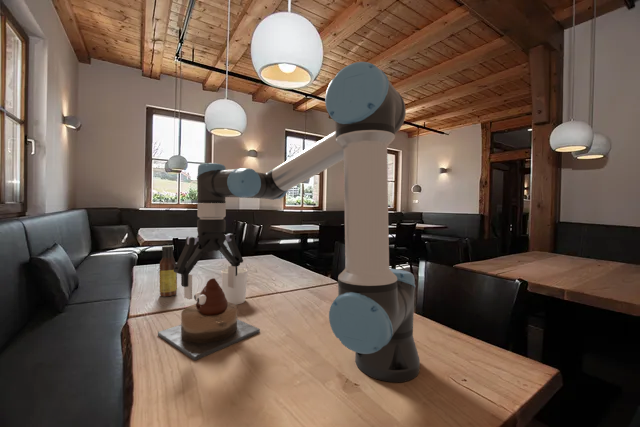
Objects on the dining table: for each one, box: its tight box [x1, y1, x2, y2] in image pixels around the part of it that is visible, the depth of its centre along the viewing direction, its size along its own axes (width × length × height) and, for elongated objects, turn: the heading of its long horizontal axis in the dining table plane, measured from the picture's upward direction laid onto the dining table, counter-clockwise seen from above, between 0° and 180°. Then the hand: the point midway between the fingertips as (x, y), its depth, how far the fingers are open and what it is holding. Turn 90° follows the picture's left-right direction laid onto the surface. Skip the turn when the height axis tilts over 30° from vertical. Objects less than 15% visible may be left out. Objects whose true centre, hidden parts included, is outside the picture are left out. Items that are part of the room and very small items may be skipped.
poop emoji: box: [193, 277, 228, 315], centre depth 82 cm, size 10×8×9 cm
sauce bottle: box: [158, 245, 178, 298], centre depth 115 cm, size 7×6×20 cm
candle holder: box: [220, 267, 249, 306], centre depth 109 cm, size 10×10×12 cm
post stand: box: [157, 302, 261, 361], centre depth 82 cm, size 20×20×7 cm
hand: (211, 292), depth 81 cm, fingers open, 13 cm apart
